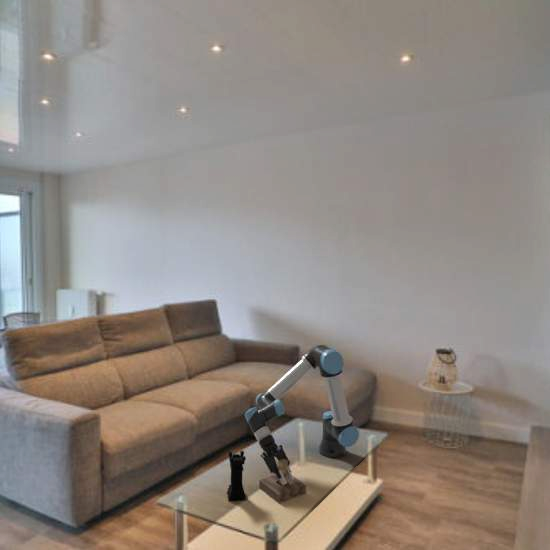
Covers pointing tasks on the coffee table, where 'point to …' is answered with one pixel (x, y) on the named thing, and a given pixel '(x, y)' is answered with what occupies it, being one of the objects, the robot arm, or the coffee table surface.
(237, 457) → the chess piece
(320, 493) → the coffee table surface
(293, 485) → the walnut board
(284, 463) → the oak peg
